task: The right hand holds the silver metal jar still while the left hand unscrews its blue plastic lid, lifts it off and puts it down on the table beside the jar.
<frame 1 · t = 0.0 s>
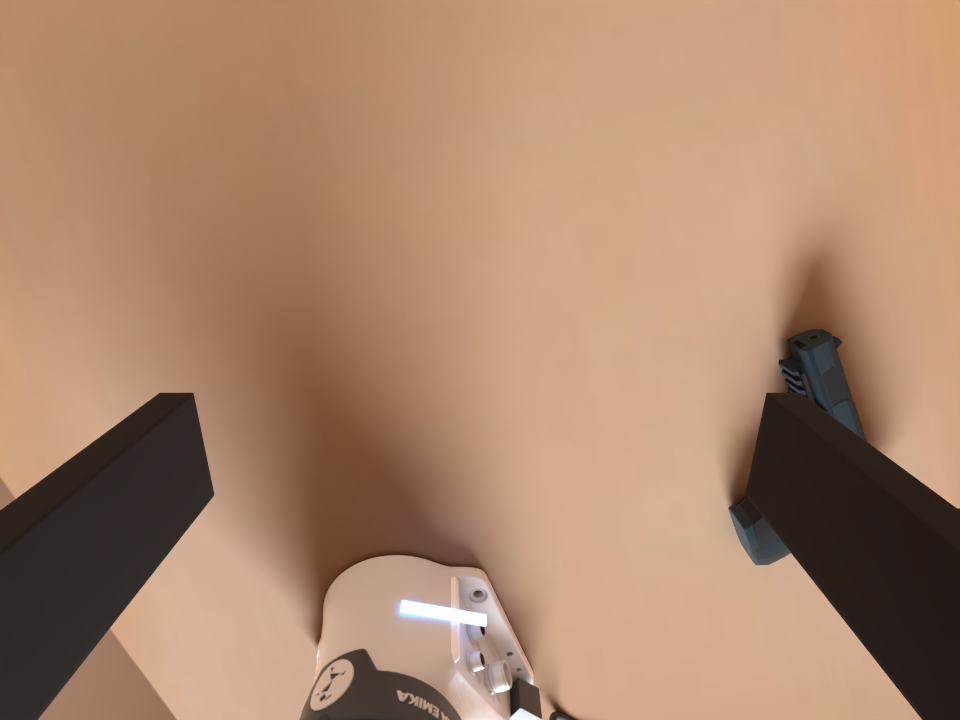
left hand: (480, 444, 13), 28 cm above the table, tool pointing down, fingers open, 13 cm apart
handgun: (779, 443, 44), on the table
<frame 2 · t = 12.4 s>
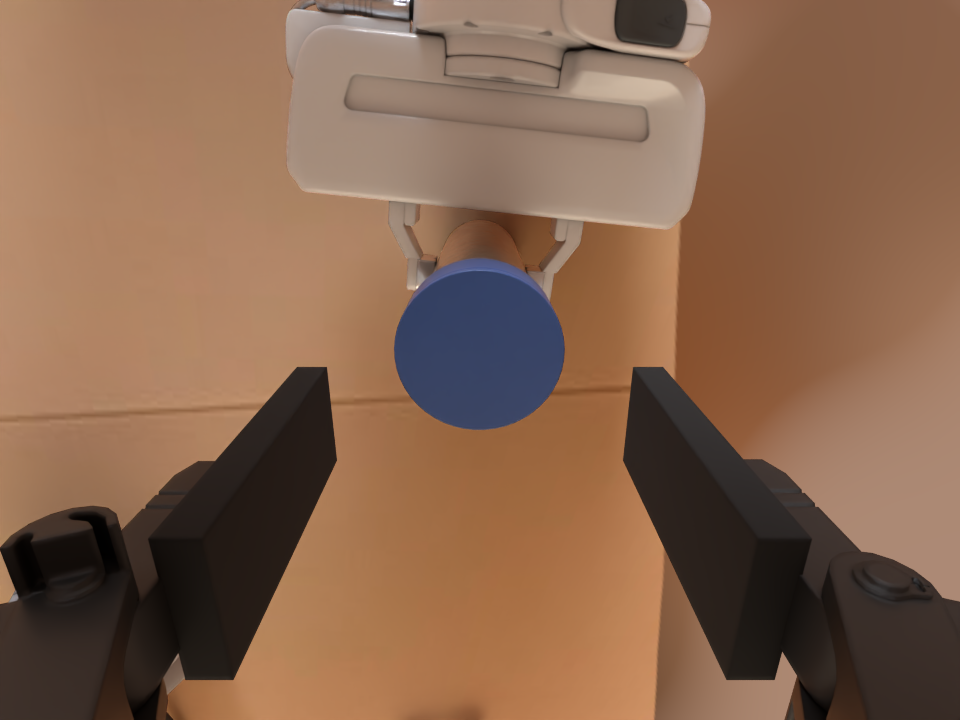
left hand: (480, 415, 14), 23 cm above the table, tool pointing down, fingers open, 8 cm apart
right hand: (478, 294, 30), fingers closed on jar, 5 cm apart
lid: (479, 351, 19), point 18 cm above the table, screwed on, not yet turned
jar: (479, 258, 36), on the table, touching right hand
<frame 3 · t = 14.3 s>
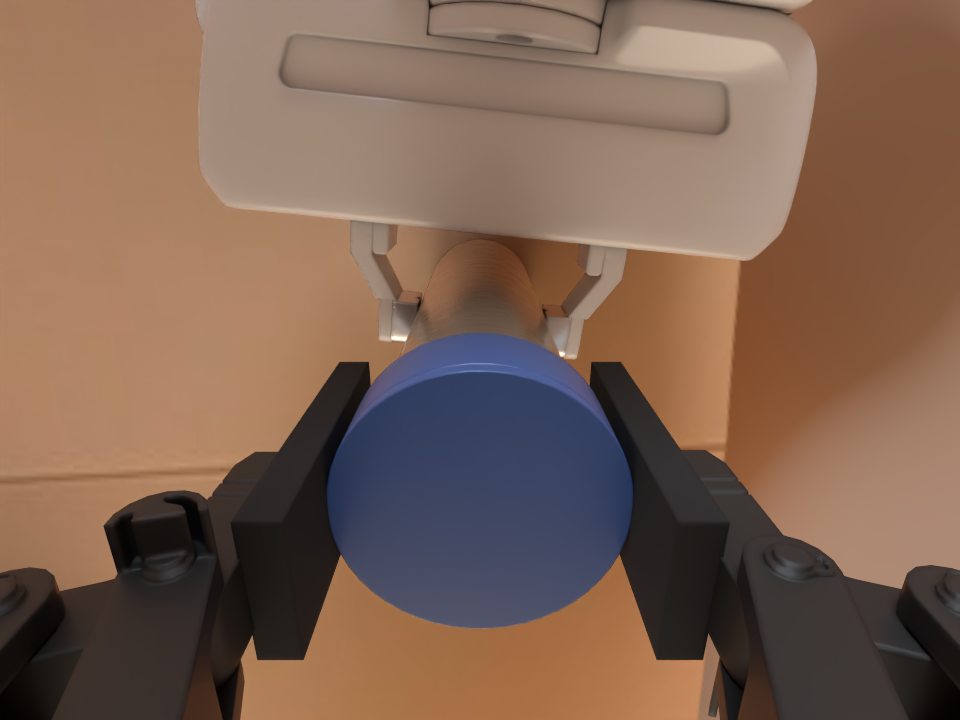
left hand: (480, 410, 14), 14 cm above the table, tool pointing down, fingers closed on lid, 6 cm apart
lid: (479, 502, 10), point 18 cm above the table, screwed on, not yet turned, touching left hand
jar: (480, 288, 28), on the table, touching right hand
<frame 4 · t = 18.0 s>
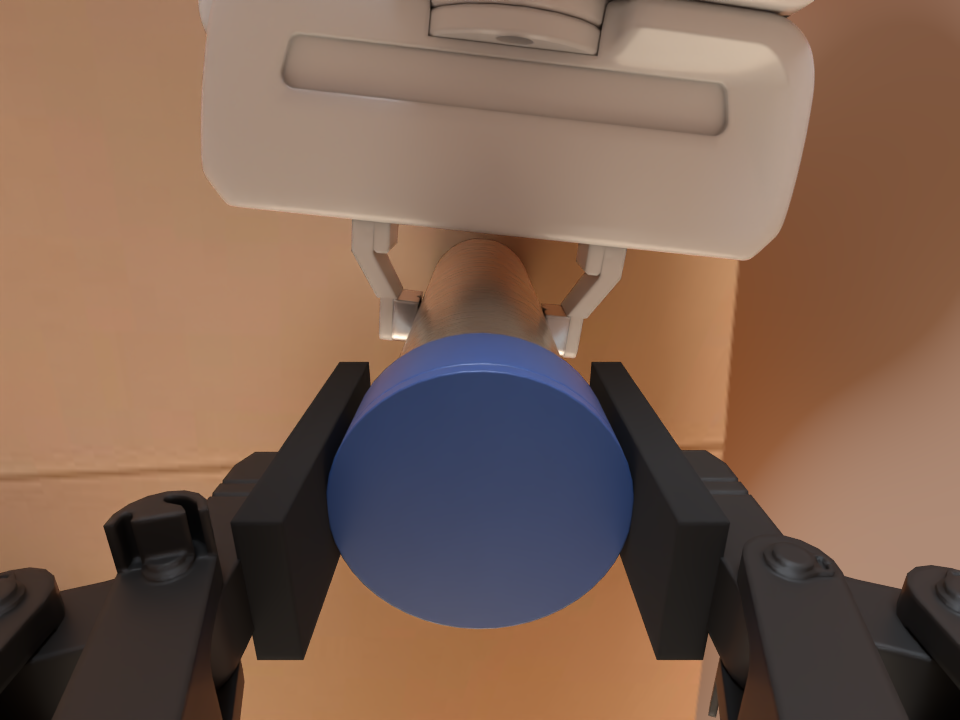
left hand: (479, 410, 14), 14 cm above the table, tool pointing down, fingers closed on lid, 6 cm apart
lid: (480, 502, 10), point 18 cm above the table, turned 115° so far, risen 0.2 cm, still on its thread, touching left hand
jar: (480, 287, 28), on the table, touching right hand
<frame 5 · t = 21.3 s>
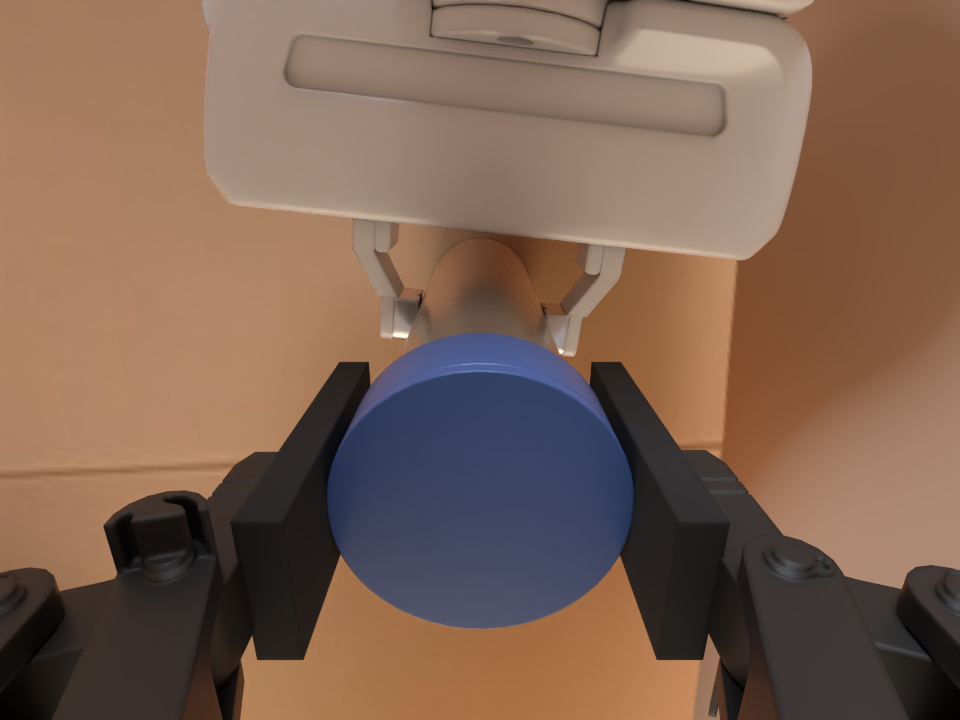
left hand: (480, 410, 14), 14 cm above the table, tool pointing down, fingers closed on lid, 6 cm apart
lid: (480, 502, 10), point 19 cm above the table, turned 231° so far, risen 0.3 cm, still on its thread, touching left hand
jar: (480, 286, 28), on the table, touching right hand
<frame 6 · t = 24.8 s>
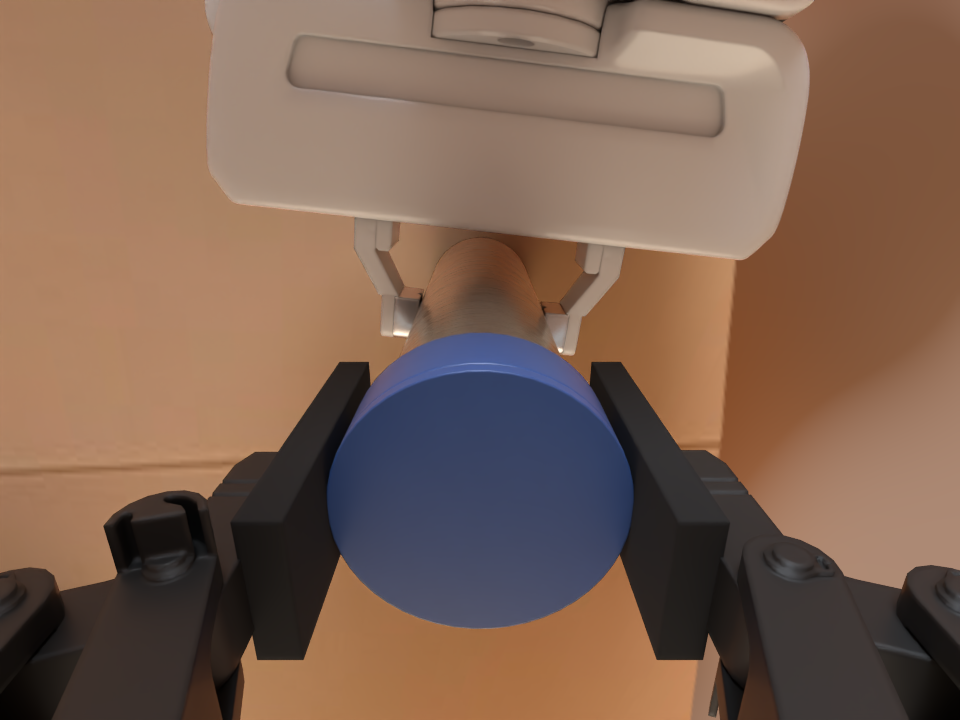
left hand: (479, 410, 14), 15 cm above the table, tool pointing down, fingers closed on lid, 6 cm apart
lid: (480, 502, 10), point 19 cm above the table, turned 346° so far, risen 0.5 cm, still on its thread, touching left hand
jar: (480, 286, 28), on the table, touching right hand
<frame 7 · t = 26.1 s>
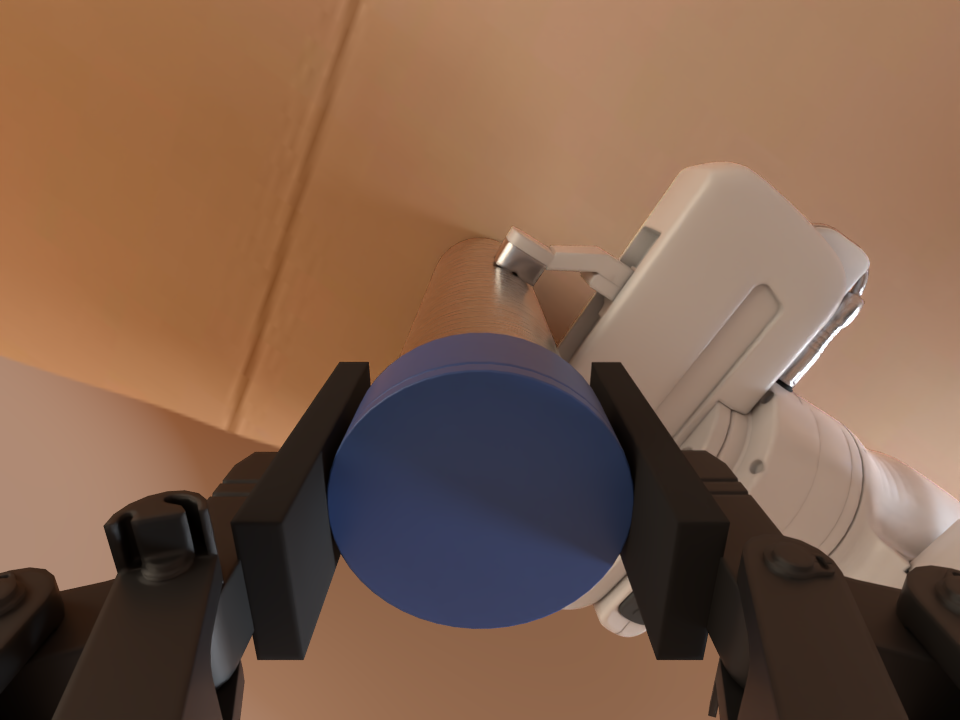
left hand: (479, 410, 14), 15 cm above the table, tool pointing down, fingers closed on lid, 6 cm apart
lid: (480, 502, 10), point 19 cm above the table, off its thread, touching left hand
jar: (480, 286, 28), on the table, touching right hand
when the left hand's fingers open (0 cm above the table, at t = 32.7 s): lid drops 2 cm, point 2 cm above the table.
when the right hand's fingers open (6 cm above the table, at t = 33.4 s): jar stays where it is, on the table.
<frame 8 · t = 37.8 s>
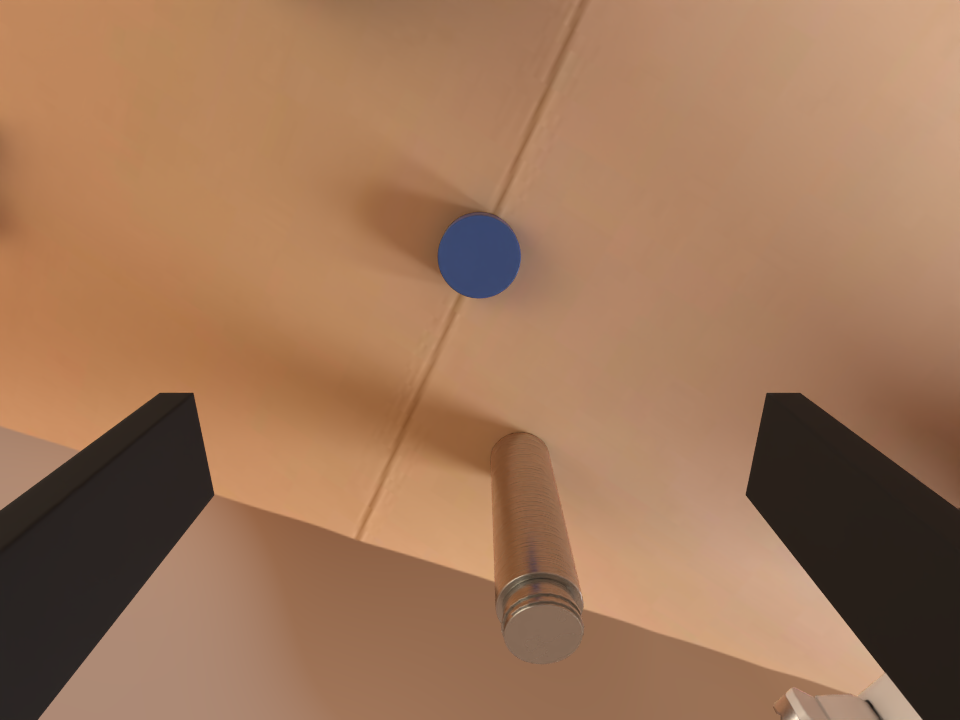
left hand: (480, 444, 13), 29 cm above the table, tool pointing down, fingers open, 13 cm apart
lid: (479, 257, 38), point 2 cm above the table, off its thread
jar: (519, 458, 46), on the table
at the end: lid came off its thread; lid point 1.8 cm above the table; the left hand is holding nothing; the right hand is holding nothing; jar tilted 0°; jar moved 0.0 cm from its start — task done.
